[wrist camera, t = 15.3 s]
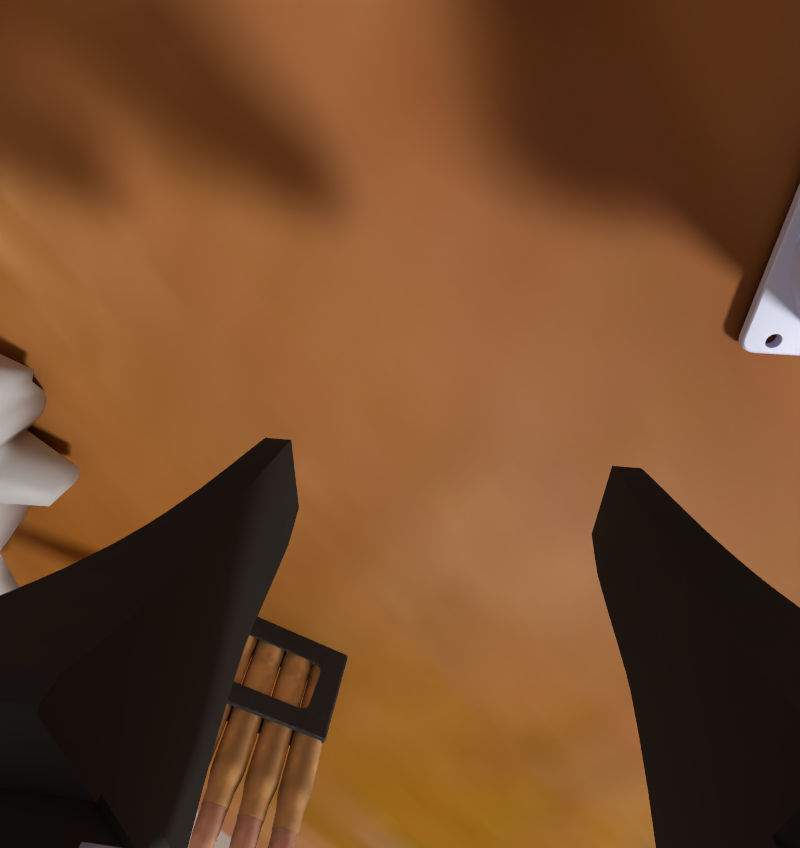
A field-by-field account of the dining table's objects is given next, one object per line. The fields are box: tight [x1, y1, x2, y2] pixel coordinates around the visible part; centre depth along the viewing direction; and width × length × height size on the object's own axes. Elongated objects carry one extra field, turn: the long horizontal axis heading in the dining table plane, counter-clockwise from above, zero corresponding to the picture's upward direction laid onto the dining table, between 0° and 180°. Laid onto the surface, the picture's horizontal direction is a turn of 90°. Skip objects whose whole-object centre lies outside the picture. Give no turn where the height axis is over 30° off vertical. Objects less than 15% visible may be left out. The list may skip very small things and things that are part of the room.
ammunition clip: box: [189, 617, 347, 848], centre depth 27 cm, size 11×2×12 cm, turn 61°
